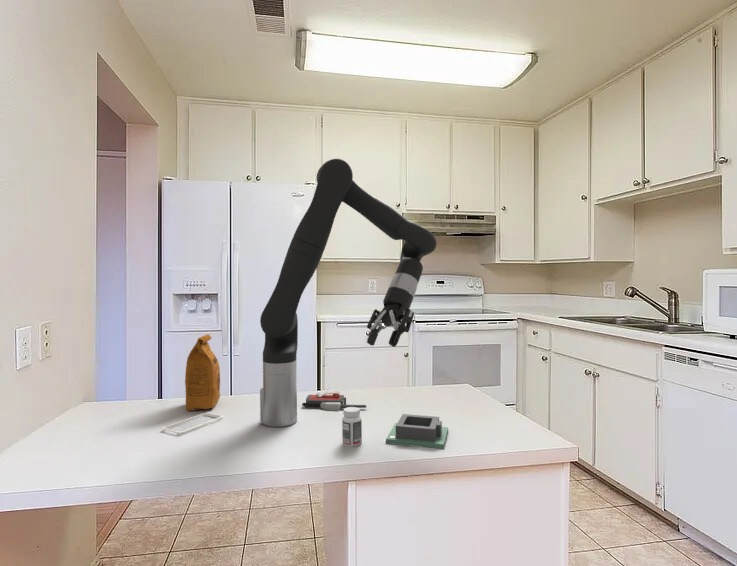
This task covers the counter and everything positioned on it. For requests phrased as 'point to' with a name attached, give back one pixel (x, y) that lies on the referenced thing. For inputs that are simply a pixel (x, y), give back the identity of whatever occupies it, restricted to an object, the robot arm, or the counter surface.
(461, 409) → the counter surface
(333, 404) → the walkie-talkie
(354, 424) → the pill bottle
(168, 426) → the phone case
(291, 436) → the counter surface
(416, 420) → the socket board
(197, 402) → the coffee package
